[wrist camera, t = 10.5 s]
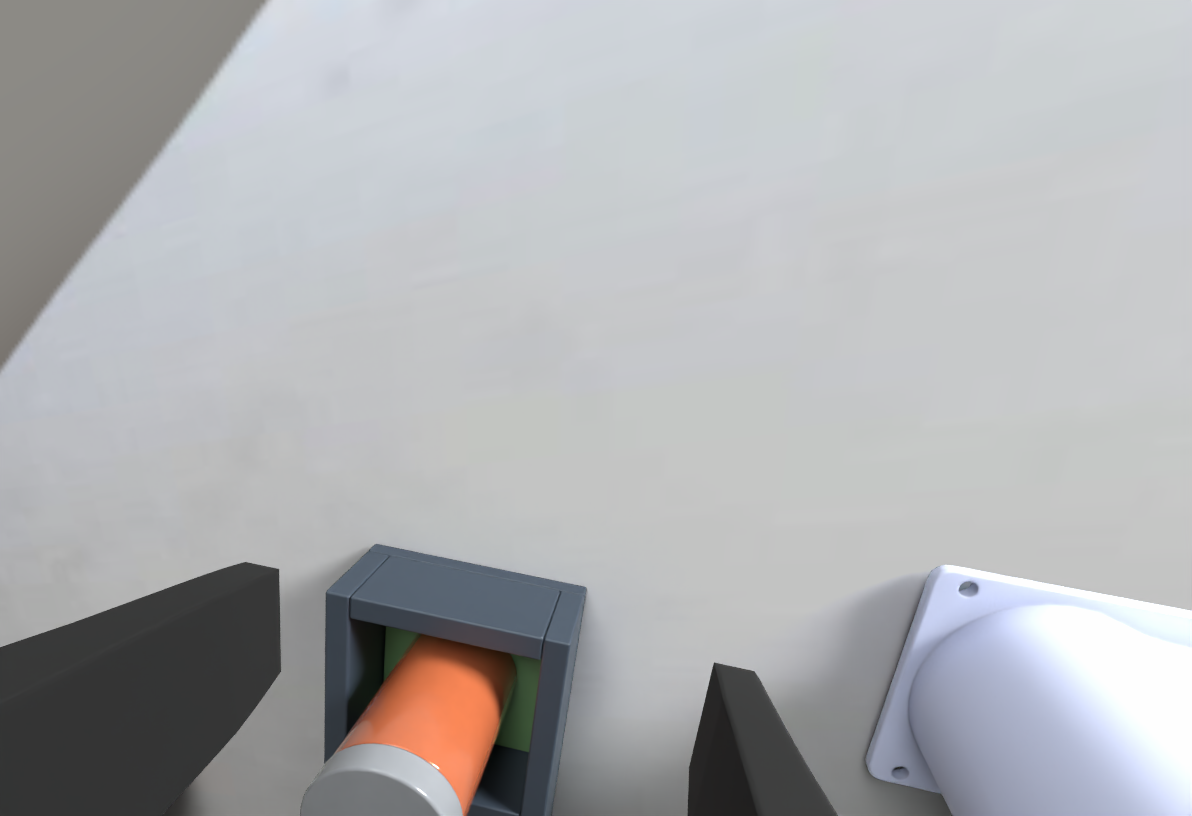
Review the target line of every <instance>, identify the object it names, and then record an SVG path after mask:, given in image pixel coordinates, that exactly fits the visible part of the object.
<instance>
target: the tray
mask: <svg viewBox="0 0 1192 816" xmlns="http://www.w3.org/2000/svg"><path fill="white" fill-rule="evenodd" d="M585 595H586V587H583V586H578V585H573V584H568V583H563V582H558V581H554V580H549V579H544V578H539V577H534V576H529V575H524V574H520V573H515V572H510V571H505V570H500V569H495V568H490V567H486V566H481V565H476V564H471V563H466V562H461V561H457V560H452V559H447V558H442V557H437V556H432V555H427V554H423V553H418V552H413V551H408V550H403V549H398V548H394V547H389V546H384V545H379V544H375V545H374V546H373V547H372V548H371V549H370V550H369V552H367V553H366V554H365V555H364V556H363V557H362V558H361V559H360V560H359V561H358V562H357V563H355V564H354V565H353V566H352V567H351V568H350V569H349V570H348V571H347V572H346V573H345V574H344V575H343V576H342V577H341V578H340V579H339V580H338V581H336V582H335V583H334V584H333V585H332V586H331V587H330V588H329V589H328V590H327V592H326V628H325V753H324V764H325V763H326V762H327V761H328V760H329V759H330V758H331V757H332V756H333V754H334V753H335V752H336V750H337V749H338V747H339V746H340V744H341V743H342V741H343V740H344V739H345V737H346V736H347V734H348V733H349V731H350V730H351V728H352V727H353V726H354V724H355V723H356V721H357V720H358V718H359V717H360V716H361V714H362V713H363V711H364V710H365V708H366V707H367V705H368V704H369V703H370V701H371V700H372V698H373V697H374V695H375V694H376V692H377V691H378V690H379V688H380V687H381V685H382V684H383V682H384V681H385V679H386V678H387V677H388V675H389V674H390V672H391V671H392V669H393V668H394V667H395V665H396V664H397V662H398V661H399V659H400V658H401V656H402V655H403V654H404V652H405V651H406V649H407V648H408V646H409V645H410V643H411V642H412V641H413V639H414V638H415V636H416V635H417V634H418V633H419V634H424V635H428V636H433V637H437V638H442V639H446V640H451V641H455V642H460V643H464V644H469V645H473V646H478V647H482V648H487V649H492V650H496V651H501V652H505V653H510V654H511V656H512V658H513V660H514V663H515V667H516V673H517V683H516V688H515V691H514V693H513V696H512V699H511V701H510V704H509V706H508V709H507V712H506V714H505V717H504V720H503V722H502V725H501V728H500V730H499V733H498V736H497V738H496V741H495V743H494V746H493V749H492V751H491V754H490V757H489V759H488V762H487V765H486V767H485V770H484V772H483V775H482V778H481V780H480V783H479V786H478V788H477V791H476V794H475V796H474V799H473V801H472V804H471V807H470V809H469V812H468V815H467V816H551V815H552V808H553V802H554V795H555V789H556V782H557V776H558V770H559V763H560V757H561V750H562V744H563V737H564V731H565V724H566V718H567V711H568V705H569V698H570V692H571V685H572V679H573V672H574V666H575V660H576V653H577V647H578V640H579V634H580V627H581V621H582V614H583V608H584V601H585Z"/></svg>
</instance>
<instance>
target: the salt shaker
mask: <svg viewBox="0 0 1192 816" xmlns="http://www.w3.org/2000/svg"><path fill="white" fill-rule="evenodd" d="M516 683H517V673H516V667H515V663H514V660H513V658H512V656H511V654H510V653H505V652H501V651H496V650H492V649H487V648H482V647H478V646H473V645H469V644H464V643H460V642H455V641H451V640H446V639H442V638H437V637H433V636H428V635H424V634H419V633H418V634H417V635H416V636H415V638H414V639H413V641H412V642H411V643H410V645H409V646H408V648H407V649H406V651H405V652H404V654H403V655H402V656H401V658H400V659H399V661H398V662H397V664H396V665H395V667H394V668H393V669H392V671H391V672H390V674H389V675H388V677H387V678H386V679H385V681H384V682H383V684H382V685H381V687H380V688H379V690H378V691H377V692H376V694H375V695H374V697H373V698H372V700H371V701H370V703H369V704H368V705H367V707H366V708H365V710H364V711H363V713H362V714H361V716H360V717H359V718H358V720H357V721H356V723H355V724H354V726H353V727H352V728H351V730H350V731H349V733H348V734H347V736H346V737H345V739H344V740H343V741H342V743H341V744H340V746H339V747H338V749H337V750H336V752H335V753H334V754H333V756H332V757H331V758H330V759H329V760H328V761H327V762H326V763H325V764H324V766H323V767H322V768H321V770H320V771H319V773H318V774H317V776H316V777H315V778H314V780H313V781H312V783H311V784H310V786H309V787H308V788H307V790H306V792H305V794H304V796H303V800H302V804H301V809H300V816H467V815H468V812H469V809H470V807H471V804H472V801H473V799H474V796H475V794H476V791H477V788H478V786H479V783H480V780H481V778H482V775H483V772H484V770H485V767H486V765H487V762H488V759H489V757H490V754H491V751H492V749H493V746H494V743H495V741H496V738H497V736H498V733H499V730H500V728H501V725H502V722H503V720H504V717H505V714H506V712H507V709H508V706H509V704H510V701H511V699H512V696H513V693H514V691H515V688H516Z"/></svg>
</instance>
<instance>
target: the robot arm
mask: <svg viewBox="0 0 1192 816" xmlns="http://www.w3.org/2000/svg"><path fill="white" fill-rule="evenodd" d="M965 582H971V585H970V586H969V588H967V589H964V590H959V587H960V585H961V584H963V583H965ZM280 672H281V651H280V595H279V569H276V568H271V567H266V566H262V565H257V564H252V563H248V562H244V563H240V564H237V565H233V566H230V567H227V568H224V569H220V570H217V571H215V572H212V573H209V574H206V575H203V576H200V577H197V578H194V579H192V580H189V581H186V582H183V583H180V584H178V585H175V586H172V587H169V588H167V589H164V590H161V591H159V592H156V593H153V594H150V595H148V596H145V597H142V598H140V599H137V600H134V601H131V602H129V603H126V604H123V605H120V606H118V607H115V608H112V609H109V610H107V611H104V612H101V613H98V614H96V615H93V616H90V617H88V618H85V619H82V620H79V621H76V622H74V623H71V624H68V625H65V626H62V627H59V628H56V629H53V630H50V631H47V632H44V633H41V634H38V635H35V636H32V637H29V638H27V639H24V640H21V641H18V642H15V643H12V644H9V645H6V646H3V647H0V816H161V815H162V814H163V813H164V812H165V811H166V810H167V809H168V808H169V807H170V806H171V805H172V803H173V802H174V801H175V800H176V799H177V798H178V797H179V796H180V795H181V794H182V793H183V791H184V790H185V789H186V788H187V787H188V786H189V785H190V784H191V783H192V782H193V781H194V779H195V778H196V777H197V776H198V775H199V774H200V773H201V772H202V771H203V769H204V768H205V767H206V766H207V765H208V764H209V763H210V762H211V761H212V760H213V758H214V757H215V756H216V755H217V754H218V753H219V752H220V751H221V750H222V748H223V747H224V746H225V745H226V744H227V743H228V742H229V740H230V739H231V738H232V737H233V736H234V735H235V734H236V733H237V731H238V730H239V729H240V727H241V726H242V725H243V723H244V722H245V721H246V719H247V718H248V717H249V715H250V714H251V713H252V711H253V710H254V709H255V707H256V706H257V705H258V703H259V702H260V701H261V699H262V698H263V696H264V695H265V693H266V692H267V691H268V689H269V688H270V686H271V685H272V683H273V682H274V681H275V679H276V678H277V676H278V675H279V673H280ZM866 764H867V767H868V770H869V772H870V774H871V775H872V776H873V777H874V778H877V779H879V780H883V781H887V782H891V783H896V784H900V785H904V786H909V787H913V788H918V789H922V790H926V791H931V792H935V793H939V794H942V795H943V797H944V799H945V801H946V803H947V805H948V807H949V810H950V812H951V814H952V816H1192V611H1189V610H1184V609H1179V608H1173V607H1168V606H1163V605H1158V604H1152V603H1147V602H1142V601H1137V600H1131V599H1126V598H1121V597H1116V596H1110V595H1105V594H1100V593H1094V592H1089V591H1084V590H1079V589H1073V588H1068V587H1063V586H1058V585H1052V584H1047V583H1042V582H1037V581H1031V580H1026V579H1021V578H1016V577H1010V576H1005V575H1000V574H995V573H989V572H984V571H979V570H973V569H968V568H963V567H958V566H952V565H942V566H939V567H936V568H935V569H934V570H932V571H931V573H930V574H929V576H928V579H927V581H926V584H925V587H924V590H923V593H922V596H921V599H920V602H919V605H918V608H917V610H916V613H915V616H914V619H913V622H912V625H911V628H910V631H909V634H908V637H907V640H906V642H905V645H904V648H903V651H902V654H901V657H900V660H899V663H898V666H897V669H896V671H895V674H894V677H893V680H892V683H891V686H890V689H889V692H888V695H887V698H886V701H885V703H884V706H883V709H882V712H881V715H880V718H879V721H878V724H877V727H876V730H875V732H874V735H873V738H872V741H871V744H870V747H869V750H868V753H867V756H866ZM896 767H902V768H900V769H894V768H896ZM688 816H838V815H837V813H836V812H835V810H834V808H833V807H832V805H831V804H830V802H829V800H828V799H827V797H826V795H825V794H824V792H823V790H822V789H821V787H820V786H819V784H818V782H817V781H816V779H815V777H814V776H813V774H812V772H811V771H810V769H809V767H808V766H807V764H806V762H805V761H804V759H803V757H802V755H801V754H800V752H799V750H798V748H797V747H796V745H795V743H794V741H793V740H792V738H791V736H790V734H789V732H788V731H787V729H786V727H785V725H784V724H783V722H782V720H781V718H780V716H779V714H778V713H777V711H776V709H775V707H774V705H773V703H772V702H771V700H770V698H769V696H768V694H767V692H766V690H765V688H764V687H763V685H762V683H761V681H760V679H759V678H758V676H757V675H756V673H755V672H754V671H751V670H746V669H741V668H737V667H732V666H727V665H723V664H718V663H714V665H713V669H712V673H711V677H710V682H709V686H708V690H707V694H706V699H705V703H704V707H703V711H702V716H701V720H700V724H699V728H698V732H697V737H696V741H695V745H694V749H693V754H692V758H691V762H690V766H689V791H688Z"/></svg>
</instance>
